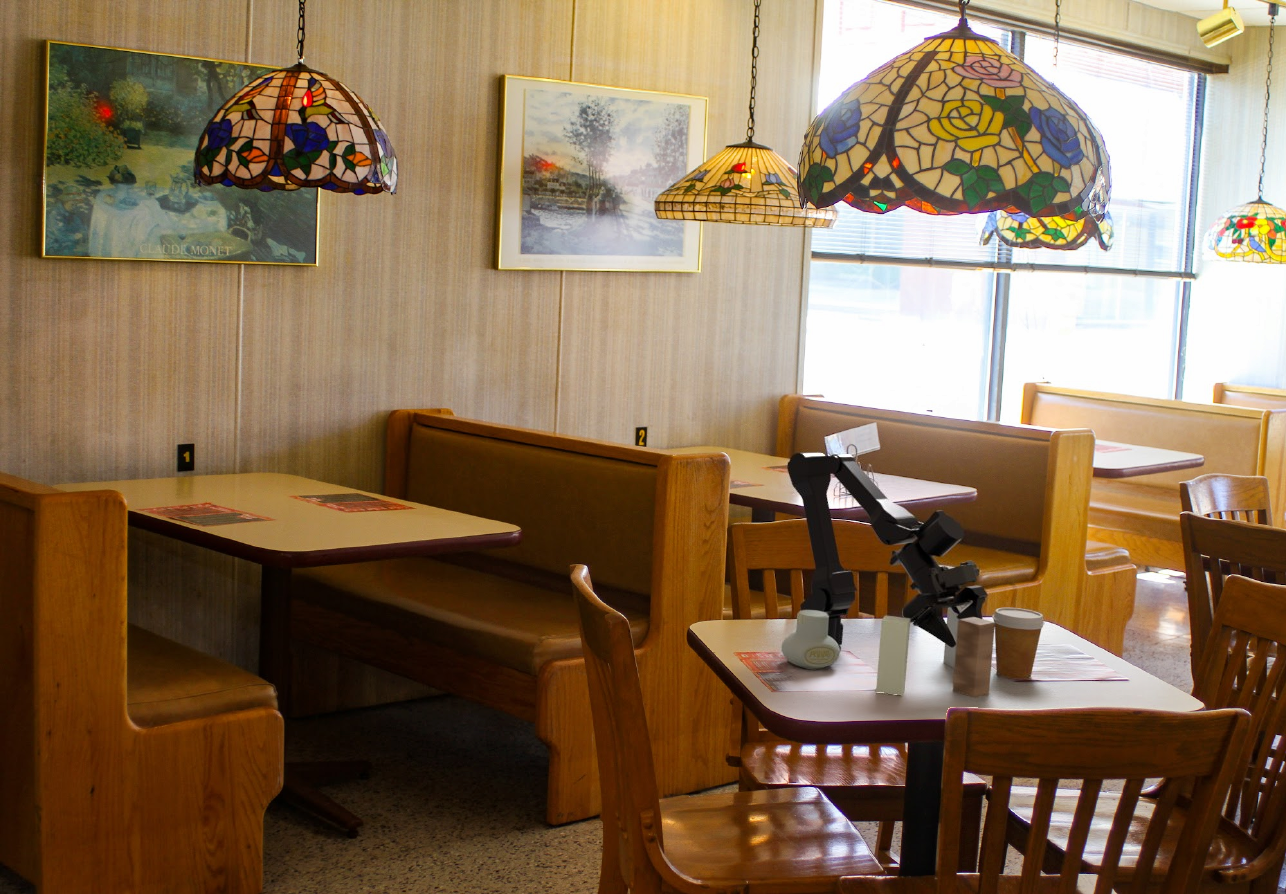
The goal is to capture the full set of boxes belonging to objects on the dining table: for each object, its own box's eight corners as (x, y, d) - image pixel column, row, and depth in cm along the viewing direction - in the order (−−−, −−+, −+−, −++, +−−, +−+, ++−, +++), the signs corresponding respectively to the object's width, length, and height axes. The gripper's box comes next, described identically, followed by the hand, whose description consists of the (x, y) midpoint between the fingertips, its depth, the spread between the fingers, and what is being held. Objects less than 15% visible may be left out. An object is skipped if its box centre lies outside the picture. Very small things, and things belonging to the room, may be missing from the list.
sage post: (875, 692, 223) (881, 620, 222) (879, 686, 227) (884, 615, 226) (901, 696, 222) (907, 623, 220) (904, 689, 226) (910, 618, 225)
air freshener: (826, 658, 244) (830, 607, 243) (845, 670, 237) (849, 618, 236) (774, 660, 241) (777, 608, 240) (791, 672, 233) (795, 619, 232)
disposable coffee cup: (1040, 672, 243) (1045, 611, 242) (1038, 684, 234) (1044, 621, 233) (989, 665, 246) (994, 604, 245) (985, 677, 237) (991, 614, 236)
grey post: (953, 668, 242) (959, 602, 241) (943, 662, 247) (948, 596, 245) (975, 668, 243) (981, 602, 242) (964, 662, 248) (970, 596, 246)
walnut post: (952, 690, 227) (958, 619, 226) (967, 687, 230) (973, 616, 229) (973, 697, 224) (979, 625, 223) (988, 693, 227) (994, 622, 225)
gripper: (920, 549, 223) (967, 624, 216) (983, 542, 235) (1030, 613, 228) (882, 585, 230) (926, 658, 223) (945, 576, 242) (989, 646, 235)
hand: (969, 643), depth 227 cm, fingers open, 9 cm apart
